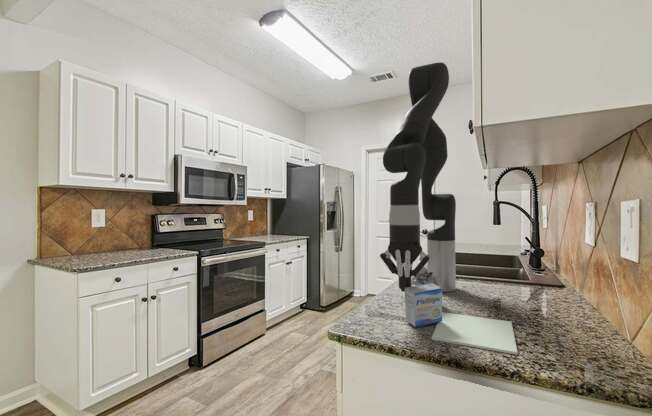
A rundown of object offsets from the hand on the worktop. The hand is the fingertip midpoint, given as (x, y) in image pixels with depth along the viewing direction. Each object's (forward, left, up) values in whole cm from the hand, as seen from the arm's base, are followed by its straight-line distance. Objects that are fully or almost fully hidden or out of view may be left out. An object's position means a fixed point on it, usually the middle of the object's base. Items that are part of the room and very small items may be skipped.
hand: (404, 290), depth 79 cm
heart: (-16, +1, -8) cm, 18 cm away
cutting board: (0, +16, -8) cm, 17 cm away
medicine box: (0, +5, -7) cm, 8 cm away
